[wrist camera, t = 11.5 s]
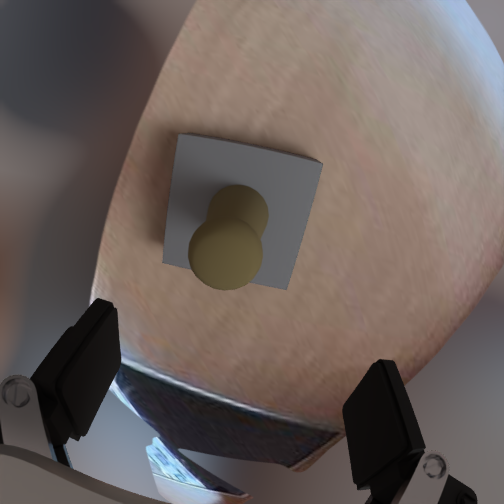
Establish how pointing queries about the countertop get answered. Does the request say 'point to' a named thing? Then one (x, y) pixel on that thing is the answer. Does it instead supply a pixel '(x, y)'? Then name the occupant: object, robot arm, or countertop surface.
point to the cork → (230, 239)
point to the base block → (248, 174)
